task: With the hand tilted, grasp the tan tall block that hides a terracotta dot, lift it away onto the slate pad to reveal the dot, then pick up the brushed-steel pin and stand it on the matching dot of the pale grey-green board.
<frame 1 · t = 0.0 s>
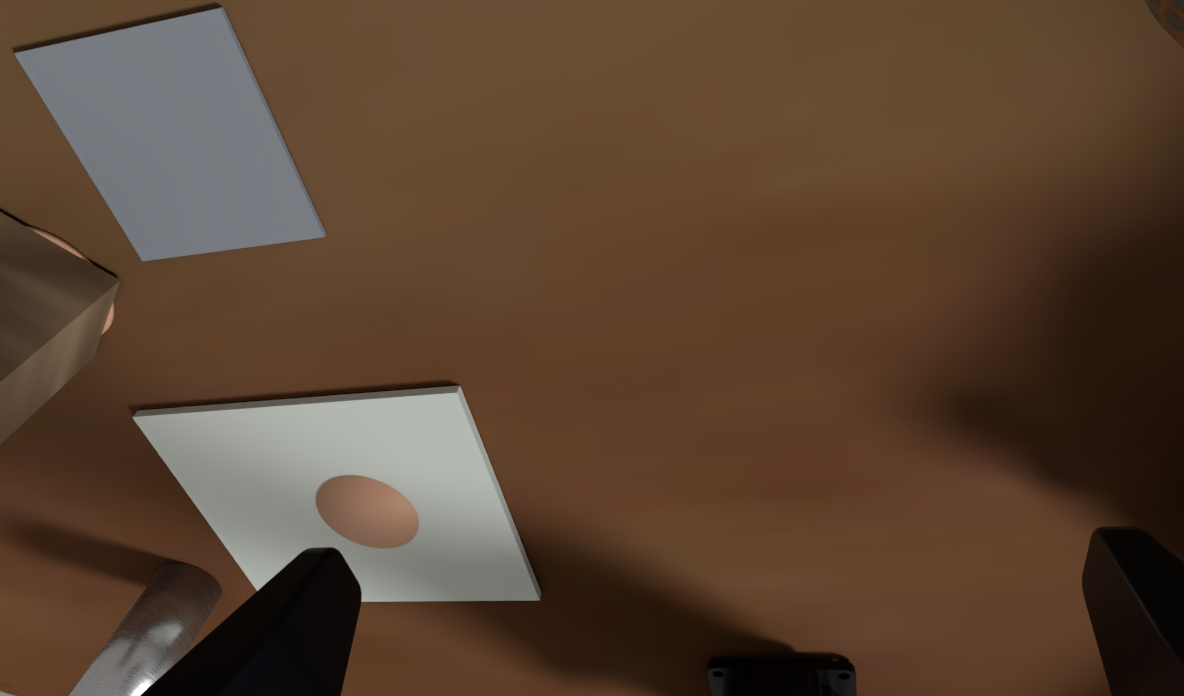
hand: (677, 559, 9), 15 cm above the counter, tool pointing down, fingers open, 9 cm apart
layout board: (267, 400, 30), on the counter
pin: (190, 582, 39), on the counter
tan tall block: (45, 287, 28), resting on layout board
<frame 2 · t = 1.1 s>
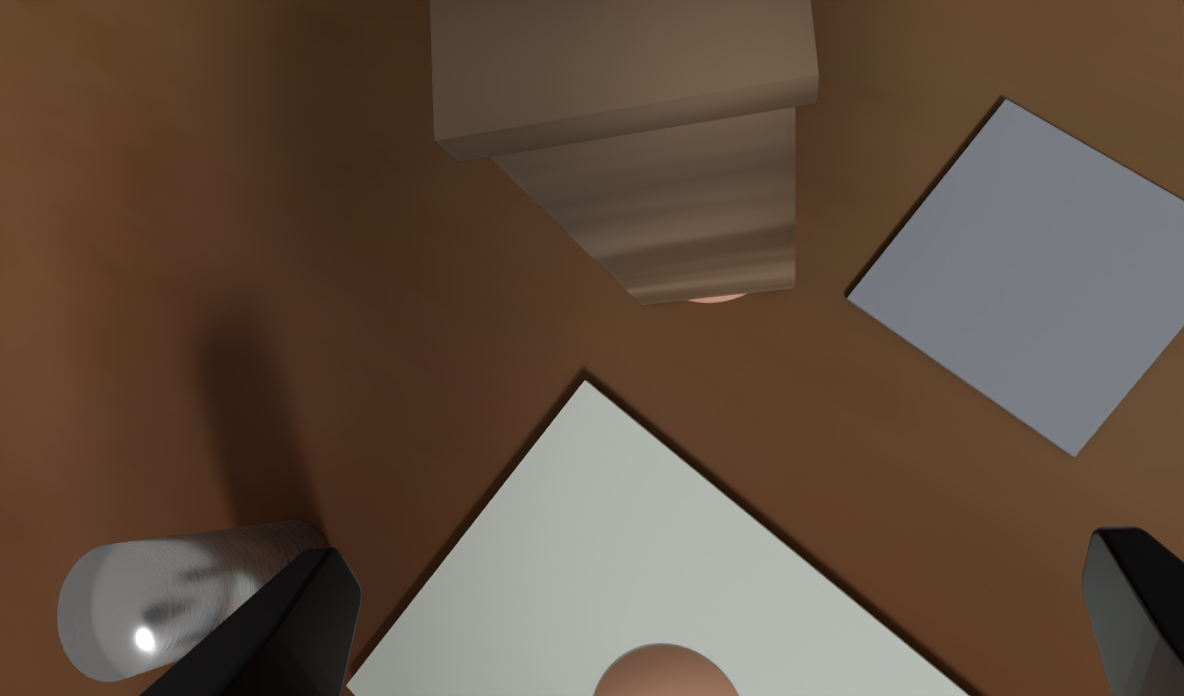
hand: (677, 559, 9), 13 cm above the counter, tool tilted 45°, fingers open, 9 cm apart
layout board: (746, 511, 22), on the counter
pin: (290, 570, 26), on the counter
tan tall block: (710, 223, 23), resting on layout board
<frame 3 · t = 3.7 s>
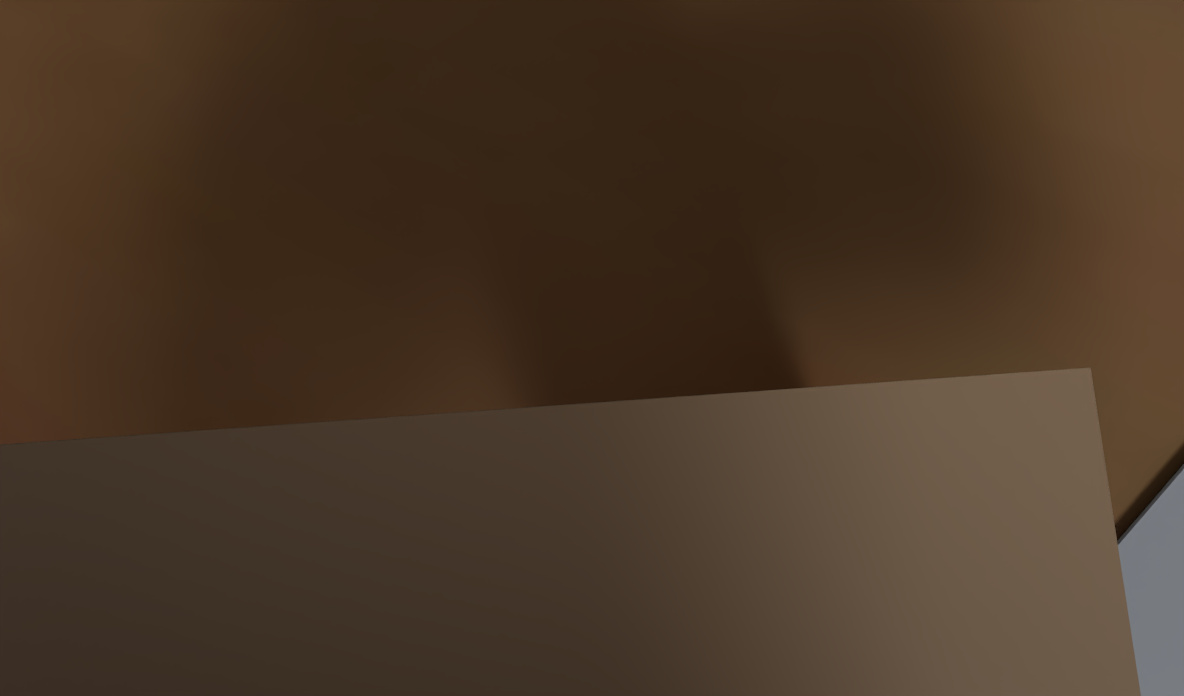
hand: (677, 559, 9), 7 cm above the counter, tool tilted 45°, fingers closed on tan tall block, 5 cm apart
tan tall block: (728, 594, 15), resting on layout board, touching gripper
when the fingers open (7 cm above the counter, at t = 7.6 s): tan tall block stays where it is, resting on layout board.
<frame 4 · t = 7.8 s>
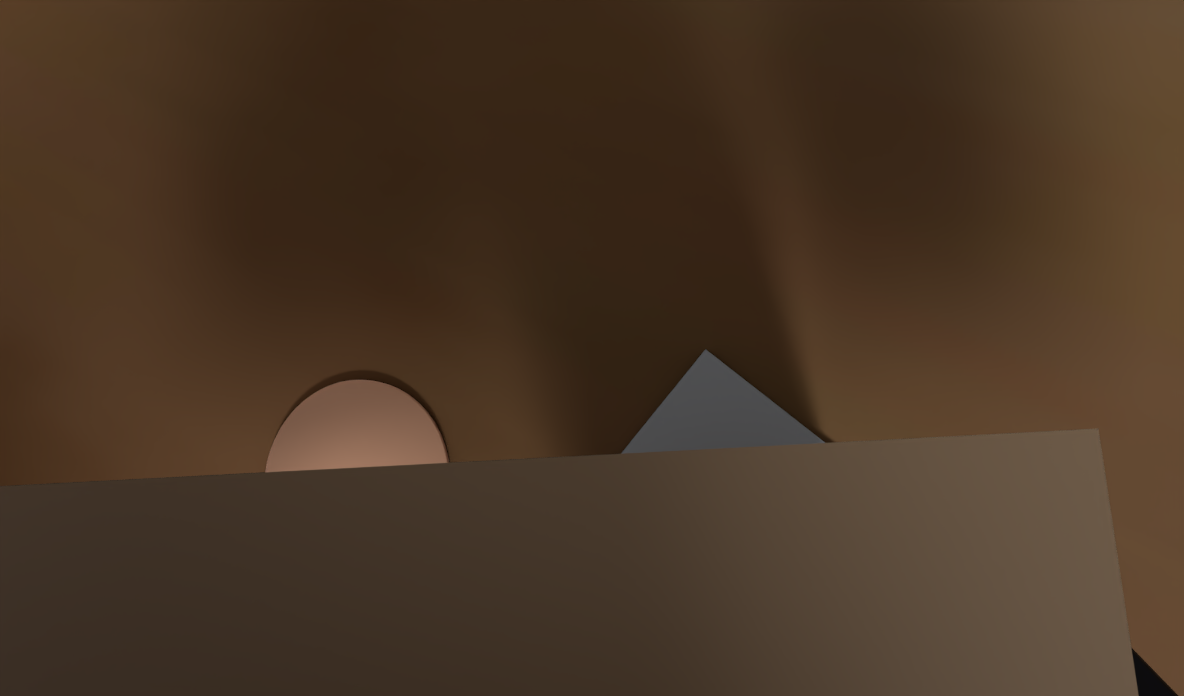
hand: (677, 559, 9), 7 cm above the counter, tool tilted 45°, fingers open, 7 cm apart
tan tall block: (729, 592, 16), resting on layout board
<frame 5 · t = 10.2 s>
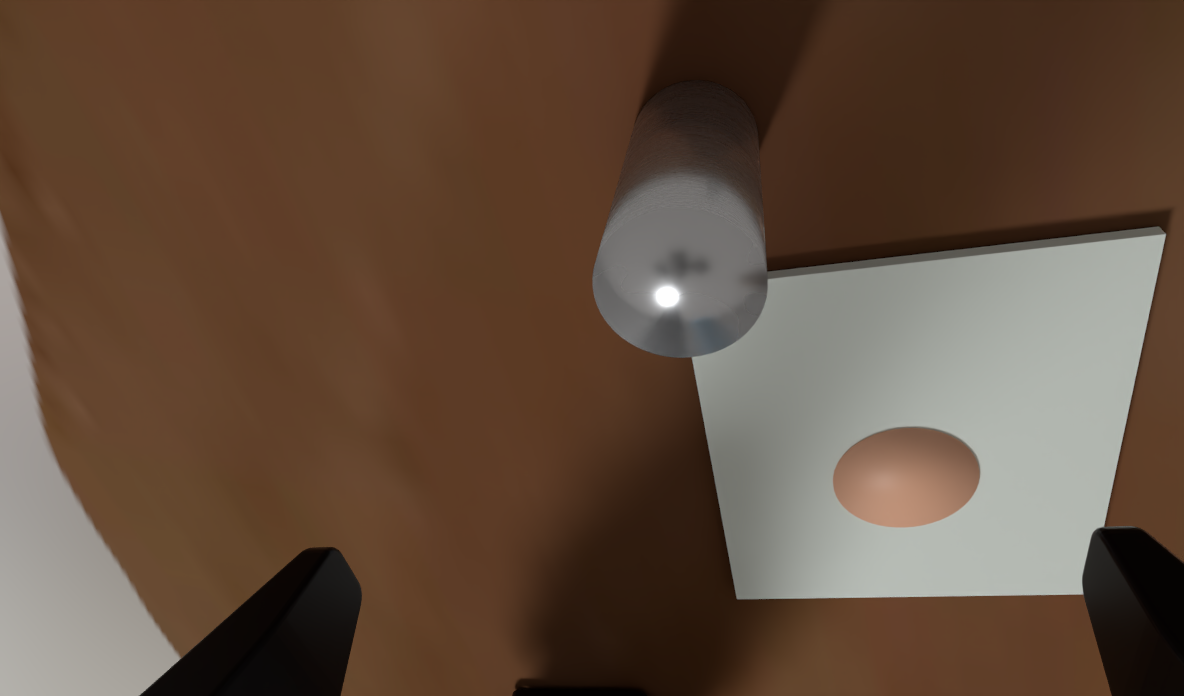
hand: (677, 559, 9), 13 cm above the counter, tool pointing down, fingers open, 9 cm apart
layout board: (1121, 409, 23), on the counter
pin: (694, 143, 20), on the counter
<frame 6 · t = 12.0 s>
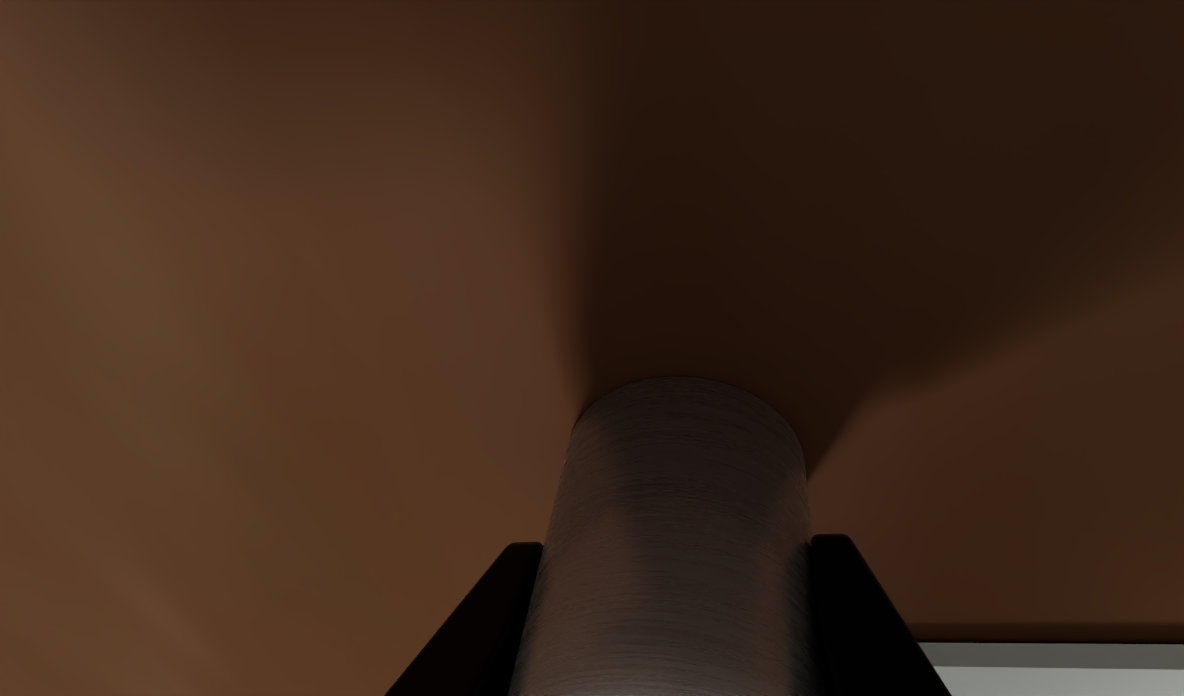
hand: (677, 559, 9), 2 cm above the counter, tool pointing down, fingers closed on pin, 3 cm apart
pin: (683, 468, 11), on the counter, touching gripper
when the fingers open (3 cm above the counter, at t = 15.9 s): pin drops 1 cm, resting on layout board.
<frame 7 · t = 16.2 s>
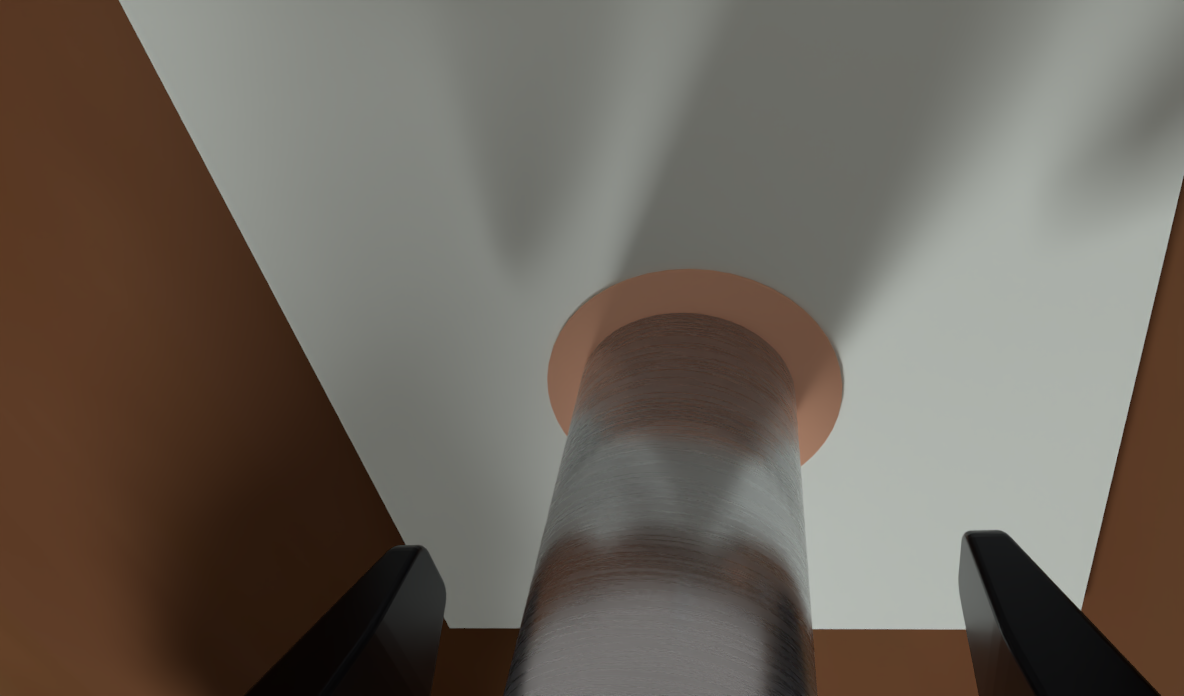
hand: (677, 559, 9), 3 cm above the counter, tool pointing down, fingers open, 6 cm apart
layout board: (1156, 213, 10), on the counter
pin: (685, 398, 12), point 1 cm above the counter, touching layout board
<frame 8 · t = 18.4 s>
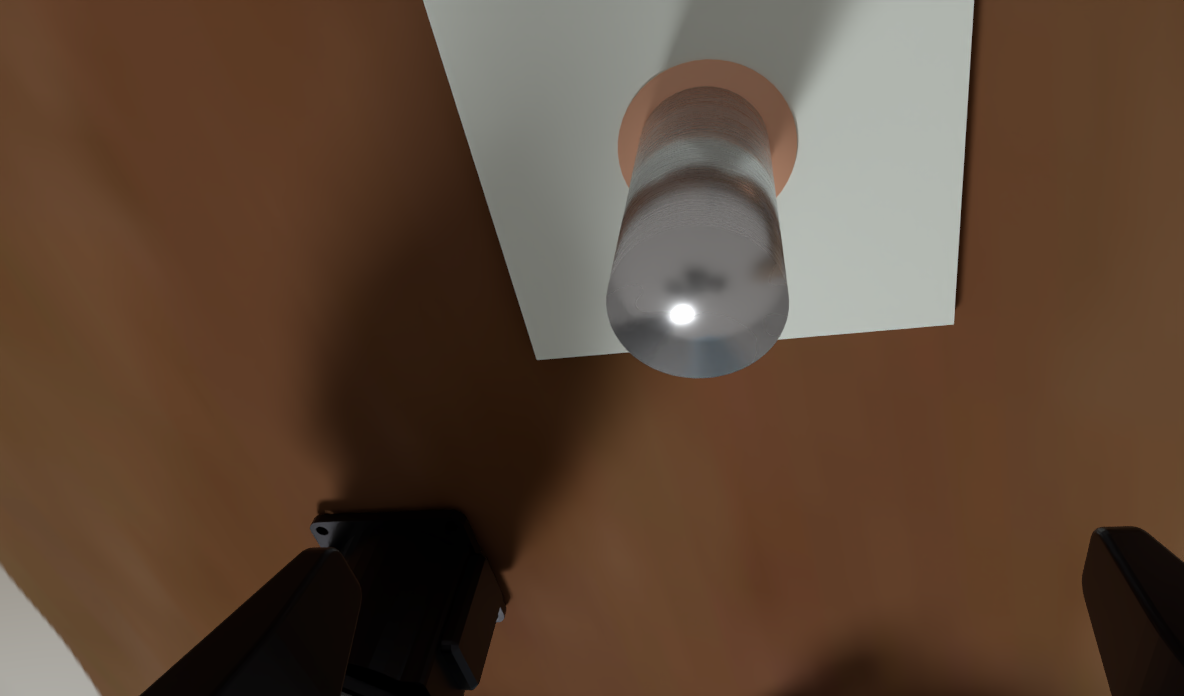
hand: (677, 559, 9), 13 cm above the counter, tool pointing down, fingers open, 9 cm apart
layout board: (968, 16, 17), on the counter
pin: (703, 150, 19), resting on layout board
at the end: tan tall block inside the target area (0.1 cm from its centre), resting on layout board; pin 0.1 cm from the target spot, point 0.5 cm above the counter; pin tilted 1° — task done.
